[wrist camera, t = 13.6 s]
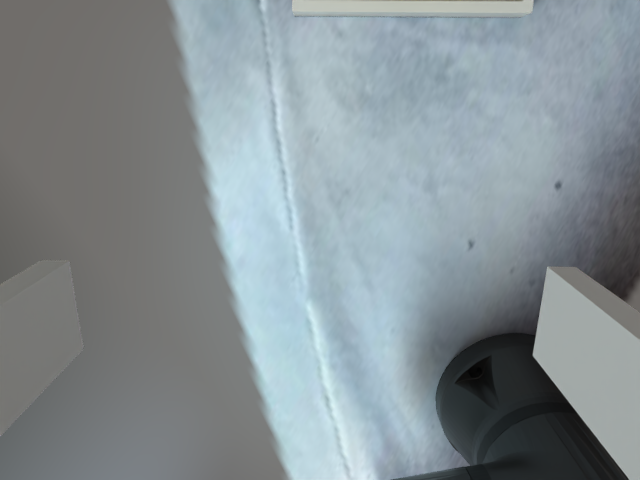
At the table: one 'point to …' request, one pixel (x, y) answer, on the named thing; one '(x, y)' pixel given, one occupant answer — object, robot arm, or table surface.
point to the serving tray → (413, 8)
